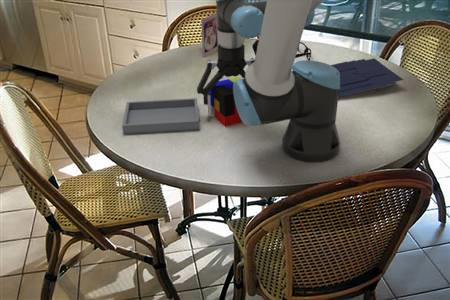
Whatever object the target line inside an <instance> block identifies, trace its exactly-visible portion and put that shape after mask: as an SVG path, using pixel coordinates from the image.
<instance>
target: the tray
mask: <svg viewBox="0 0 450 300" xmlns="http://www.w3.org/2000/svg"><path fill="white" fill-rule="evenodd" d="M198 106H199V105H198V98H197V97H192V98H177V99H175V98H174V99H160V100H159V99H157V100H155V99H154V100H140V101H139V100H138V101H137V100H136V101H126V105H125V108H124V109H125V110H124V115H123V119H122V125H121V127H122V135H123V136H127V135H143V134H144V135H147V134H162V133H177V132H178V133H180V132H196V131H197V132H198V131H200V120H199V118H200V117H199V107H198Z"/></svg>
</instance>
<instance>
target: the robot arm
mask: <svg viewBox="0 0 450 300" xmlns="http://www.w3.org/2000/svg"><path fill="white" fill-rule="evenodd" d="M324 1H325V0H261V1H260V0H259V1H254V2H253V1H252V2H248V1H246V0H215V3H216V4H215V5H216V13H217V39H218V44H219V45H218V50H217V60H216V61H212V60H210V59H209V60H207V61H206V67H205V71H204V73H203V75H202V76H201V79H200V81H199V83H198V84H197V87H196V92H197V93H196V94H199V95H200V94H201V95H203V96H202V97H203V104H204V106H206V105H207V115H208V116H209V117H211V116H212V115H211V104H210V91H211V90H212V88H213V87H214V86H215V85H216V84H217V82H218V81H221V80H222V79H223V77H226V78H229V77H239V76H241V77H239V78H240V79H238V80H235V81H234V84H233V94H234V100H235V104H236V108H237V111H238V114H239V116H240V118H241V120H242V121H243V122H242V123H243V124H244V125H246V126H248V127H255V126H260V127H261V126H262V125H268V124H274V123H278V122H282V121H283V122H284V121H288V120H289V122H288V124H287V127H286V129H285V131H284V133H283V136H282V139H281V140H282V141H281V147H282V150H283V152H284V153H285V154H286V155H288V156H289V157H290V158H293V159H294V160H299V161H302V162H310V163H320V162H325V161H328V160H332V159H333V158H335V157H336V156H337V155H338V154H339V152H340V146H341V140H340V136H339V131H338V128H337V125H336V121H337V113H338V112H337V111H338V102H339V97H338V95H339V89H340V73H339V71H338V70H337V69H336V68H335V67H333V66H331V65H332V64H329V63H326V62H322V61H319V60H318V61H317V60H311V59H310V60H308V59H307V60H306V59H304V60H303V59H302V60H298V61H296V62H295V60H296V58H295V57H296V54H298V47H299V48H300V44H301V43H300V42H301V39H302V36H303V32H304V29H305V27H307V26H310V25H311V24H312V23H313V22H314V18H315V14H316V9H317V8H318V7H319V6H321V4H323V3H324ZM258 36H259V42H258V46H257V52H256V56H255V57H251V58H250V59H245V54H246V53H245V42H246V41H245V39H248V40H249V39H250V40H251V39H254V38H255V39H256V38H257V37H258ZM299 43H300V44H299ZM246 66H247V68H246V69H245V67H246ZM215 68H217V69H218V70H217V71H216V73H215V74H214V76H213V77H212V78H211V80H210V81H209V82H208V80H209V78H210V76H211V73H212V70H215ZM207 82H208V83H207Z"/></svg>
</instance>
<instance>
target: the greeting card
mask: <svg viewBox="0 0 450 300" xmlns="http://www.w3.org/2000/svg"><path fill="white" fill-rule="evenodd" d="M200 20H201V21H200V22H201V40H202V43H201V44H202V45H201V46H202V58H206V57H207V56H209V55H210V54H212V53H215V52H217V51H218V45H219V44H218V39H217V12H215V13H213V14H211V15H209V16H207V17H204V18H201V19H200Z"/></svg>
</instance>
